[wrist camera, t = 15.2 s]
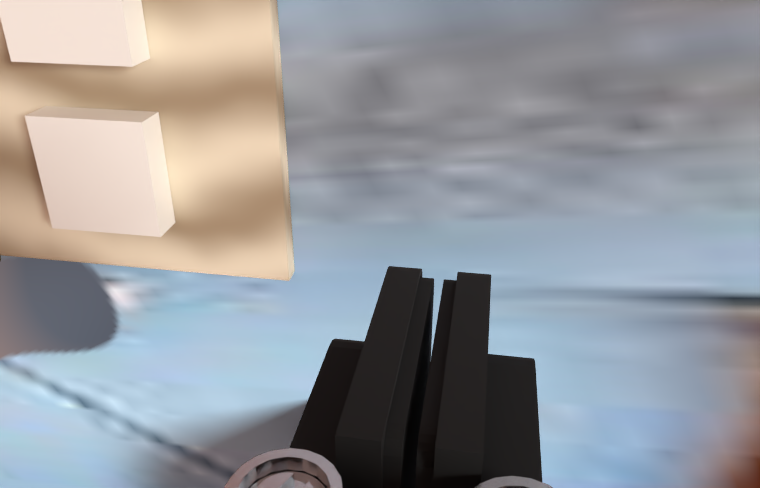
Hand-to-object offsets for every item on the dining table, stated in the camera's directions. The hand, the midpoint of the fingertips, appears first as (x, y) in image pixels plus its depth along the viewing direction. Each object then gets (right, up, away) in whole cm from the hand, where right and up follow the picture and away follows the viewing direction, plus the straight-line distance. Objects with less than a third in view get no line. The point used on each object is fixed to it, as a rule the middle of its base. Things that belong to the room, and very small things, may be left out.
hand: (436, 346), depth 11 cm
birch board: (-16, +11, +28) cm, 34 cm away
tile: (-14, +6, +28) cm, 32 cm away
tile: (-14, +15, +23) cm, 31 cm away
